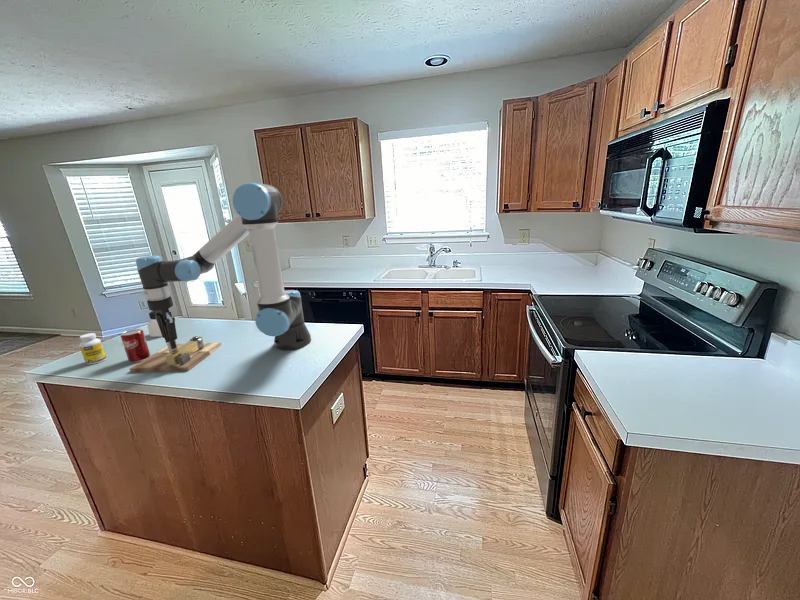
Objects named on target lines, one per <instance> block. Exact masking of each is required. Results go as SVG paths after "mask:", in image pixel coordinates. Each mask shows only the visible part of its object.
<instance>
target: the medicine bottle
mask: <svg viewBox="0 0 800 600" xmlns="http://www.w3.org/2000/svg"><path fill="white" fill-rule="evenodd" d="M154 314H156V311H151V310H150V312H149V313H148V316H149V319H150V321H149V322H147V323H146V325H147V329H148V330H147V331H148V332H149V335H150V338H156V337H157V338H160V337H161V338H163V337H162V334H161V331H160V328H159V326H158V323H157V320H156V318H155V316H154Z"/></svg>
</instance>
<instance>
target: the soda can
mask: <svg viewBox="0 0 800 600" xmlns="http://www.w3.org/2000/svg"><path fill="white" fill-rule="evenodd" d="M120 339H121V342H122V345H123V349H124V351H125V354H126V357H127V361H128V362H130V363H131V364H132V363H134V364H135V363H140V362H141V361H143V360H145V359H146V358H148V357H150V356H151V352H150V349H149V345H148V343H147V340H146V337H145V332H144V330H143V329H142V328H135V329H130V330H126V331H124V332H121V334H120Z"/></svg>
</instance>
